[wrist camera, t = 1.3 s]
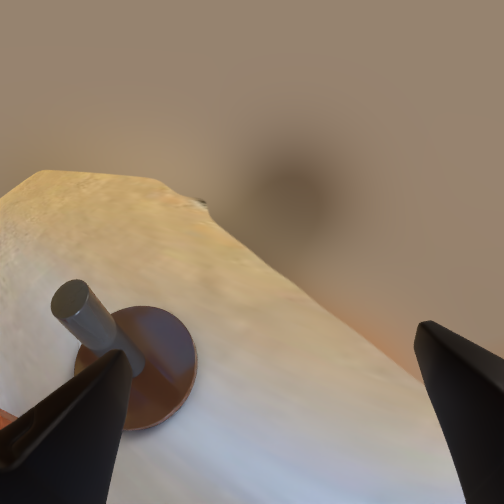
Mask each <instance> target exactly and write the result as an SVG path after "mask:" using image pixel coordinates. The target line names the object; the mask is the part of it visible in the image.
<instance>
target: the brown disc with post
mask: <svg viewBox="0 0 504 504" xmlns="http://www.w3.org/2000/svg"><path fill="white" fill-rule="evenodd" d="M51 311H52V314H53V315H54V316H55V317H56V318H57V319H58V320H59V322H60V323H61V324H62V325H63V326H64V327H65V328H66V329H67V330H68V331H69V332H70V333H72V334H73V335H74V336H75V337H76V338H77V339H78V340H79V341H80V342H81V343H82V344H81V346H80V349H79V351H78V354H77V357H76V362H75V368H74V376H76V375H77V374H78V373H80V372H81V371H82V370H84V369H85V368H86V367H88V366H89V365H90V364H92V363H93V362H95V361H96V360H97V359H99V358H100V357H101V356H103V355H104V354H105V353H107V352H108V351H109V350H112V349H121V350H123V351H124V352H125V354H126V356H127V359H128V361H129V363H130V365H131V368H132V371H133V377H132V383H131V389H130V395H129V402H128V409H127V415H126V419H125V423H124V427H123V430H142V429H146V428H150V427H153V426H155V425H158V424H159V423H161V422H163V421H165V420H166V419H168V418H169V417H170V416H172V415H173V414H174V413H175V412H176V411H177V410H178V409H179V408H180V407H181V406H182V405H183V403H184V402H185V401H186V399H187V397H188V396H189V394H190V392H191V390H192V387H193V385H194V382H195V378H196V374H197V361H198V359H197V351H196V347H195V344H194V341H193V339H192V337H191V335H190V333H189V331H188V330H187V328H186V327H185V326H184V324H183V323H182V322H181V321H180V320H179V319H178V318H176V317H175V316H174V315H172V314H171V313H169V312H167V311H165V310H163V309H159V308H156V307H150V306H134V307H129V308H125V309H122V310H119V311H117V312H114V313H112V314H110V313H109V312H108V311H107V309H106V308H105V307H104V306H103V304H102V303H101V302H100V301H99V299H98V298H97V297H96V295H95V294H94V293H93V291H92V290H91V289H90V287H89V286H88V285H87V283H85V282H84V281H82V280H78V279H76V280H71V281H68V282H66V283H65V284H63V285H62V286H61V287H60V288H59V289H58V290H57V291H56V293H55V294H54V296H53V298H52V301H51Z"/></svg>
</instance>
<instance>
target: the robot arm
mask: <svg viewBox="0 0 504 504" xmlns="http://www.w3.org/2000/svg"><path fill="white" fill-rule="evenodd" d="M414 351H415V354H416V357H417V361H418V364H419V367H420V370H421V374H422V377H423V380H424V384H425V387H426V390H427V393H428V395H429V398H430V400H431V403H432V405H433V408H434V410H435V413H436V415H437V418H438V420H439V423H440V426H441V428H442V431H443V434H444V436H445V439H446V442H447V445H448V447H449V450H450V453H451V456H452V459H453V462H454V465H455V468H456V471H457V474H458V477H459V480H460V483H461V487H462V490H463V493H464V497H465V499H466V500H465V501H466V504H504V359H502V358H501V357H499V356H497V355H495V354H493V353H491V352H490V351H488V350H486V349H484V348H482V347H480V346H478V345H477V344H474V343H473V342H471V341H469V340H467V339H465V338H464V337H462V336H460V335H458V334H456V333H454V332H452V331H450V330H449V329H447V328H445V327H443V326H441V325H439V324H437V323H435V322H434V321H424V322H421V323H419V325H418V327H417V332H416V336H415V341H414ZM132 377H133V371H132V368H131V365H130V363H129V361H128V359H127V356H126V354H125V352H124V351H123V350H121V349H112V350H109V351H108V352H107V353H105V354H104V355H103V356H101V357H100V358H99V359H97V360H96V361H95V362H93V363H92V364H90V365H89V366H88V367H86V368H85V369H84V370H82V371H81V372H80V373H78V374H77V375H76V376H74V377H73V378H72V379H70V380H69V381H68V382H66V383H65V384H64V385H62V386H61V387H60V388H58V389H57V390H55V391H54V392H53V393H51V394H50V395H49V396H47V397H46V398H45V399H43V400H42V401H41V402H39V403H38V404H37V405H35V408H34V407H33V408H31V409H30V410H29V411H27V412H26V413H25V414H23V415H22V416H20V417H19V418H18V419H16V420H15V421H13V422H12V423H10V424H9V425H7V426H6V427H4V428H2V429H1V430H0V504H106V501H107V496H108V491H109V486H110V482H111V477H112V473H113V468H114V464H115V459H116V455H117V451H118V447H119V443H120V439H121V435H122V431H123V427H124V423H125V419H126V415H127V409H128V402H129V395H130V389H131V383H132Z"/></svg>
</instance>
